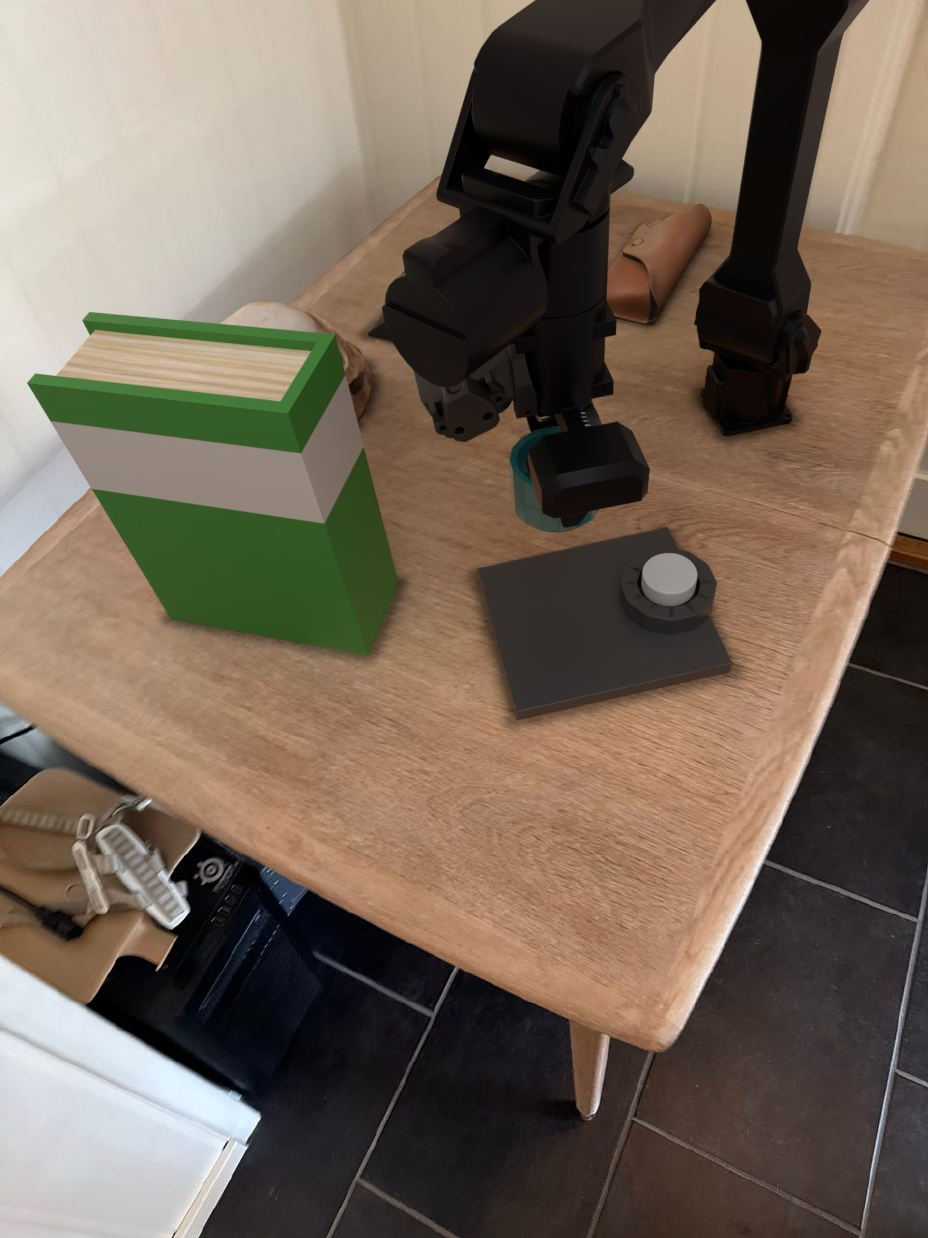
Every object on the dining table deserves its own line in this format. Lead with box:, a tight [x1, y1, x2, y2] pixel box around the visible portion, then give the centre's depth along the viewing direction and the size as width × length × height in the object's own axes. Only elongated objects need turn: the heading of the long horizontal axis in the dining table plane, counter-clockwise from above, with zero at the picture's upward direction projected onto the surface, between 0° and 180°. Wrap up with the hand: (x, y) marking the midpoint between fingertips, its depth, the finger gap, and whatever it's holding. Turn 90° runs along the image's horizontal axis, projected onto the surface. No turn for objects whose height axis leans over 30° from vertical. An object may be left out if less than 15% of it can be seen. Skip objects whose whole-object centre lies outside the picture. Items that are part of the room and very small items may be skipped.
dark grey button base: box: [476, 526, 733, 721], centre depth 67 cm, size 17×14×3 cm
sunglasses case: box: [607, 203, 713, 325], centre depth 94 cm, size 18×7×7 cm
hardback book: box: [26, 311, 400, 656], centre depth 63 cm, size 18×7×24 cm, turn 74°
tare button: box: [641, 553, 697, 606], centre depth 66 cm, size 4×4×2 cm
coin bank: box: [219, 301, 373, 421], centre depth 82 cm, size 16×17×13 cm
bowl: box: [508, 426, 601, 533], centre depth 60 cm, size 6×6×4 cm
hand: (558, 491), depth 61 cm, fingers closed on bowl, 6 cm apart
